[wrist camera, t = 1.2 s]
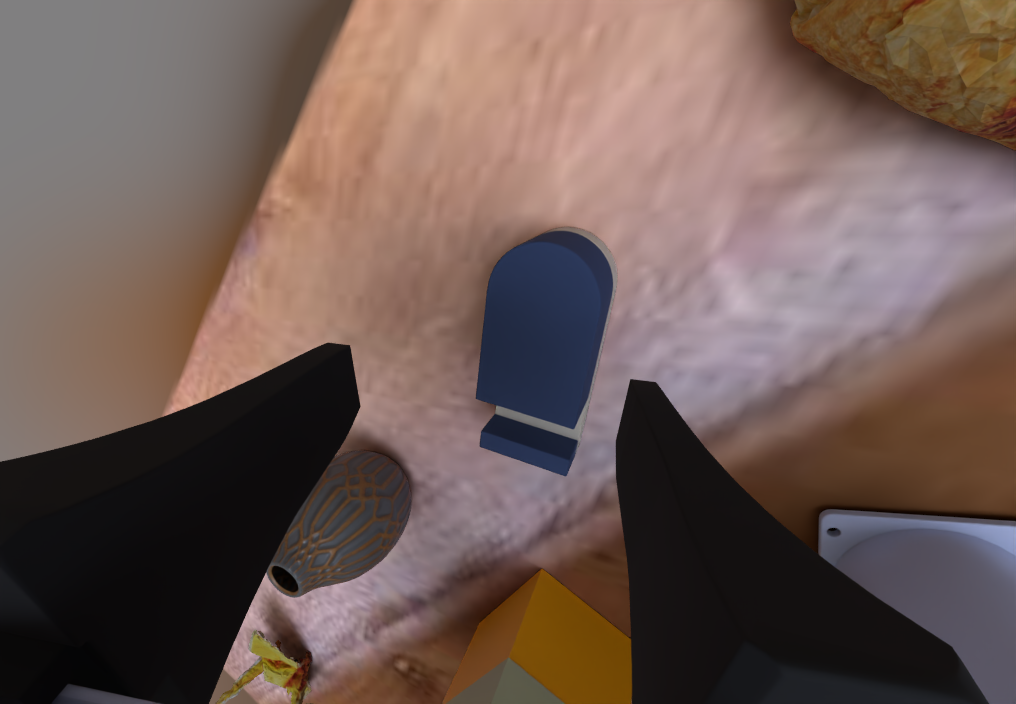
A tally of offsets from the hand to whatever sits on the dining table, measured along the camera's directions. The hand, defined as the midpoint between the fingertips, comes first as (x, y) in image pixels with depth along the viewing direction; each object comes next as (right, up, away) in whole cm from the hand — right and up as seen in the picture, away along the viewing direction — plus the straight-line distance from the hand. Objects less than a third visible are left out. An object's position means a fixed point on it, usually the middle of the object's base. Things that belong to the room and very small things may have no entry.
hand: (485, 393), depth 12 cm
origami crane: (-21, -29, +34) cm, 49 cm away
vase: (-8, -7, +19) cm, 22 cm away
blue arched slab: (+3, +2, +11) cm, 11 cm away
